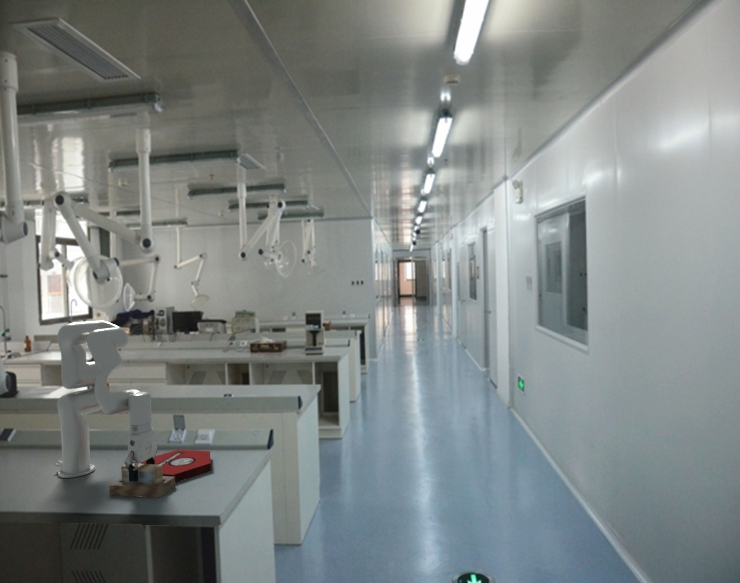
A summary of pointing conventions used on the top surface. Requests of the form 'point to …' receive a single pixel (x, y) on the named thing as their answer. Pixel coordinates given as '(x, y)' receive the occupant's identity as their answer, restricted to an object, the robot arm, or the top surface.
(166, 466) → the plaque
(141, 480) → the tan rectangular slab
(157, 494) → the tan shallow box
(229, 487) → the top surface
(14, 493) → the top surface
